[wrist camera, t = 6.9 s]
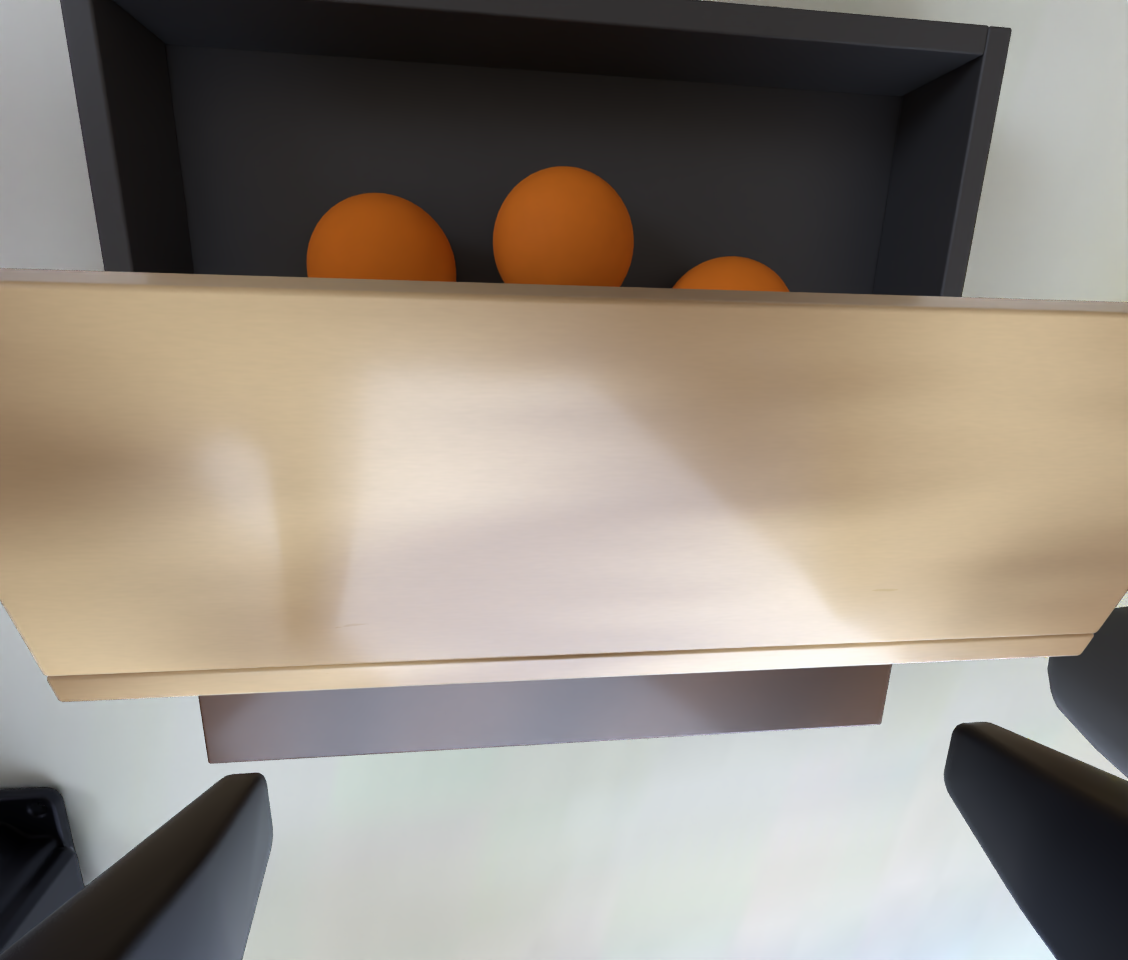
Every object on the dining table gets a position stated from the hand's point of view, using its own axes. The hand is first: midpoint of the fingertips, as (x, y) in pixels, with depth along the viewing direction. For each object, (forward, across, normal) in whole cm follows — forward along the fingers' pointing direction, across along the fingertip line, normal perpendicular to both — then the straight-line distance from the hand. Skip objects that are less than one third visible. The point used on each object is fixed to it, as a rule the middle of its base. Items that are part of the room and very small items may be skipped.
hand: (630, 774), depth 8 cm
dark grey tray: (+12, 0, -6) cm, 13 cm away
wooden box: (+4, 0, -1) cm, 4 cm away
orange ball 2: (+10, 0, -7) cm, 12 cm away
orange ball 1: (+10, +4, -7) cm, 13 cm away
